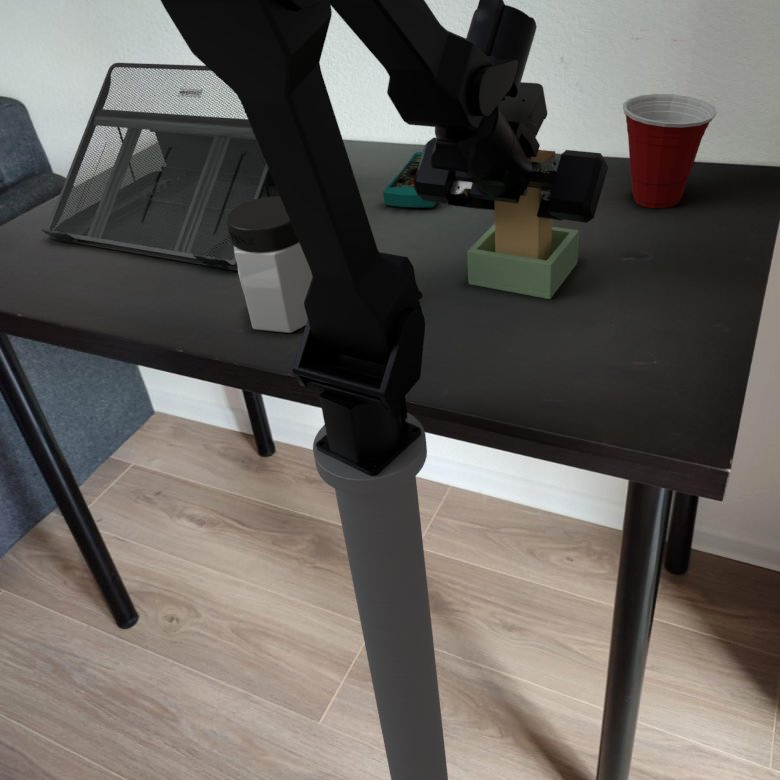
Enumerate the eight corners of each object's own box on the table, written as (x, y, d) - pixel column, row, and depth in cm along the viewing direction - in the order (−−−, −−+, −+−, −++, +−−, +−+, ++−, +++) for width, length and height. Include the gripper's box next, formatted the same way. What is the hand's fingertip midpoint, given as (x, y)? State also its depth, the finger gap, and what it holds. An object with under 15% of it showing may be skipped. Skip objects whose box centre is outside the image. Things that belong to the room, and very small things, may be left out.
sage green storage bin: (550, 299, 82) (551, 265, 80) (468, 284, 87) (466, 251, 84) (577, 263, 88) (579, 230, 86) (499, 250, 92) (498, 218, 90)
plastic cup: (701, 220, 94) (716, 120, 87) (609, 215, 97) (616, 118, 90) (705, 185, 102) (719, 91, 94) (620, 181, 105) (628, 90, 98)
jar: (247, 300, 89) (224, 202, 82) (318, 287, 90) (300, 189, 82) (252, 341, 82) (226, 237, 74) (328, 326, 82) (310, 222, 75)
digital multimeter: (382, 209, 106) (380, 189, 104) (415, 168, 117) (413, 148, 115) (433, 212, 103) (432, 191, 102) (462, 169, 114) (461, 150, 112)
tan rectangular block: (538, 281, 85) (540, 165, 77) (494, 273, 87) (492, 160, 79) (552, 264, 87) (555, 151, 80) (509, 257, 90) (508, 146, 82)
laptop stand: (42, 243, 107) (-12, 110, 97) (172, 169, 127) (139, 51, 116) (232, 277, 94) (195, 126, 83) (346, 188, 113) (328, 55, 102)
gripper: (609, 65, 66) (634, 147, 80) (418, 57, 75) (471, 132, 89) (573, 188, 66) (605, 249, 80) (385, 166, 74) (444, 225, 88)
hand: (528, 209), depth 84 cm, fingers open, 6 cm apart
